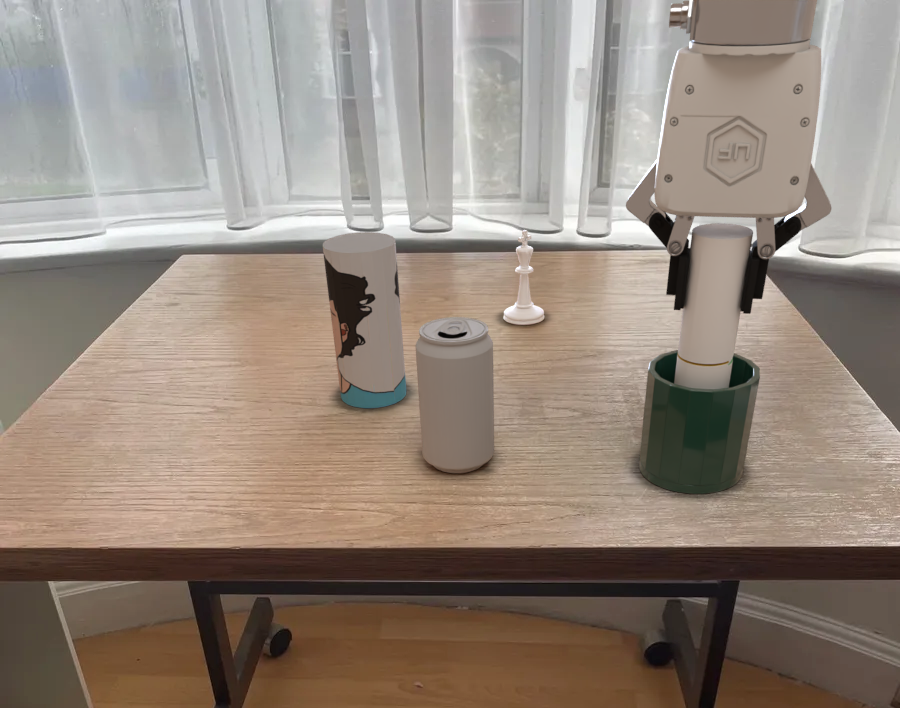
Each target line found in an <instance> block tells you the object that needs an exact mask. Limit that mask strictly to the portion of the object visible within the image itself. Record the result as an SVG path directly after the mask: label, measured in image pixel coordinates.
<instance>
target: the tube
mask: <svg viewBox="0 0 900 708" xmlns="http://www.w3.org/2000/svg"><path fill="white" fill-rule="evenodd" d="M753 236H754V230H752V228H750V227H749V226H744V225H742V224H736V223H728V222H727V223H726V222H724V223H723V222H716V223H715V222H712V223H705V224H700V225H697V226H694V227H693V228H692V230H691V238H690V245H689V246H690V247H689V248H690V259H689V267H688V276H687V284H686V292H685V300H684V308H683V309H682V313H681V314H682V315H681V324H680V331H679V338H678V348H677V350H678V355H677V363H676V372H675V380H674V384H677V385H681V386H685V387H690V388H699V389H721V388H729V382H730V376H731V369H732V363H733V355H734V353H735V350H736V344H737V337H738V331H739V325H740V324H739V323H740V318H741V304H742V297H743V291H744V285H745V278H746V272H747V266H748V259H749V256H750V250H751V249H752V244H753Z"/></svg>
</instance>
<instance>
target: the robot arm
mask: <svg viewBox="0 0 900 708" xmlns="http://www.w3.org/2000/svg"><path fill="white" fill-rule="evenodd" d="M817 4H818V0H683V1H682V3H681V2H680V3H678V2H677V3H671V4H670V10H669V20H668V28H673V29H674V28H680V31H685V34H686V35H687V34H688V35H689V45H688V46H683V47H680V48H679V49H678V50H677V51H676V55H675V58H674V62H673V65H672V69H671V73H670V77H669V82H668V86H667V92H666V95H665V100H664V108H663V114H662V120H661V127H660V128H661V129H660V136H659V143H658V150H657V158H656V160H655V161H654V163H652V165H651V167H650V168H649V169H648V170H647V172H646V173H645V175H644V176H643V177H642V178H641V180H640V181H639V182H638V183H637V185H636V187H634V190H632V192H631V193H630V195H629V196H628V197H627V199H626V202H625V208H626V210H627V211H628V212H629V213H630V214H632V215H633V216H634V217H636V218H637V219H638V220H639V221H640V222H642V223H643V224H645V225H646V226H648V228H649V229H650V231H651V232H652V233H653V234H654V236H656V238H657V239H658V240H659V241H660V242H661V243H662V245H663V246H664V247H665V249H666V251H667V253H668V254H669V265H668V275H667V283H666V293H665V295H666V296H674V303H673V311H681V310H683V308H684V300H685V292H686V284H687V276H688V267H689V259H690V247H689V246H690V240H689V234H690V231H691V228H692V225H693V222H694V219H695V217H709V218H710V217H711V218H745V219H747V218H748V219H755V230H756V240H754V241H752V246H751V249H750V256H749V259H748V266H747V272H746V278H745V285H744V291H743V297H742V304H741V312H742V313H743V314H745V315H746V314H748V315H750V314H751V313H752V308H753V301H754V300H762V299H763V297H764V291H765V285H766V279H767V273H768V268H769V261H770V259H772V257H774V255H775V254H776V252H777V251H778V250H779V249H781V248H782V247H783V246H784V245H786V244H787V243H788V242H789V241H790V240H792V239H793V238H794V237H796V236H798V234H799V233H800V232H801V231H803V230H804V229H808V228H809V227H810V226H812V225H814V224H816V223H818V222H819V221H821V220H822V219H824V218H826V217H828V216H829V215H830V213H831V212H832V204H831V201H830V199H829V197H828V194H827V192H826V190H825V188H824V187H823V184H822V181H821V180H820V178H819V176H818V174H817V172H816V170H815V168H814V166H813V163H812V158H813V153H814V145H815V139H816V132H817V123H818V115H819V108H820V107H819V106H820V96H821V86H822V85H821V82H822V80H821V79H822V48H820V47H819V46H817V45H813V44H810V43H811V37H812V33H813V26H814V20H815V16H816V10H817ZM652 196H654V202H653V200H652ZM804 199H805V202H804ZM803 203H804V204H803ZM668 214H669V215H673V216H675V217H674V220H672V218H671V217H670V216H669V215H668ZM776 218H781V219H780V220H778V221H777V222H776V223H775V219H776ZM741 312H740V313H741Z"/></svg>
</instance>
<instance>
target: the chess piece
mask: <svg viewBox="0 0 900 708" xmlns="http://www.w3.org/2000/svg"><path fill="white" fill-rule="evenodd" d="M528 231H529V230H527V229H523V230H522V231H521V236H519V237H517V241H518V243H521V245H519V246H517V247H516V248H515V253H516V255H517V258H518V259H517V260H518V262H519V266H517V267H516V268H515V270H514V272H515V273H516V274H519V283H518V290H517V291H518V292H517V299H516V301H515V303H514V305H511V306H509V307H507V308H505V310H504V311H503V317H502V319H503V320H504V321H505V322H507V323H508V324H512V325H517V326H518V325H519V326H526V325H527V326H528V325H535V324H538V323H540V322H542V321H543V320H544V319H545V315H544V314H545V311H544V309H543V308H542V307H540V306H538V305H534V304H535V303H534V302H533V301H532V298H531V297H532V296H531V287H530V277H529V276H530V275H529V274H531V273H534V271H535V270H534V267H533V266H530V265H529V264H530V263H531V258H532V256H533V253H534V248H533V246H530V245H528V241H530V240H532V235H531V234H529V233H528Z"/></svg>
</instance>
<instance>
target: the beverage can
mask: <svg viewBox="0 0 900 708" xmlns="http://www.w3.org/2000/svg"><path fill="white" fill-rule="evenodd" d="M418 334H419V335H418V336H419V337H418V339H417V340H416V343H415V345H414V347H415V360H416V375H417V377H416V379H417V392H418V406H419V407H418V408H419V421H420V422H419V423H420V435H421V436H420V438H421V453H422V457H423V459H424V460H425V461H426V463H428V464H429V465H431V466H433V467H434V468H435V469H436V470H439V471H442V472H444V473H447V474H448V473H449V474H464V473H465V474H466V473H470V472H473V471H476V470H478V469H481V467H483V466H484V465H485V464H486V463H488V462H489V461H490V460H491V459H492V458H493V456H494V454H495V399H494V397H495V395H494V394H495V393H494V391H495V388H494V386H495V385H494V341H493V339H492V337H491V336H490V334H489V326H488V324H487V323H486V322H484V321H482V320H480V319H478V318H477V319H476V318H472V317H466V316H449V317H441V318H436V319H433V320H430V321H427V322H426V323H424V324H422V325H421V326H420V327H419V329H418Z"/></svg>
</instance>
